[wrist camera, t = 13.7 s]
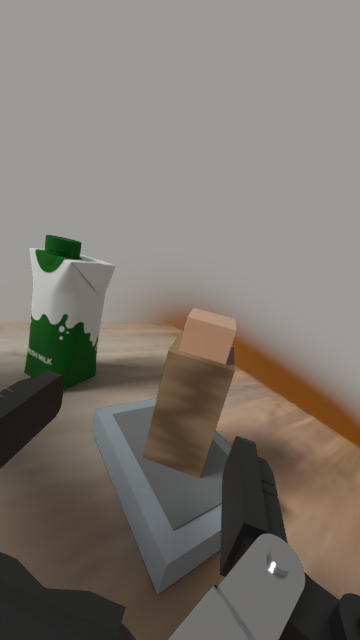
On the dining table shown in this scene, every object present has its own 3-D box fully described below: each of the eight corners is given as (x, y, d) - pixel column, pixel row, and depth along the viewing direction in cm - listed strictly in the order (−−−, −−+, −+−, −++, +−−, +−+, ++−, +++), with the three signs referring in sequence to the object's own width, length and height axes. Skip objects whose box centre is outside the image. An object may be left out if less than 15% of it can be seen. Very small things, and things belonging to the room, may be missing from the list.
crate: (142, 457, 23) (168, 351, 20) (158, 421, 29) (180, 332, 26) (199, 478, 23) (234, 371, 20) (205, 437, 28) (233, 347, 25)
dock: (91, 431, 29) (95, 407, 28) (176, 411, 36) (181, 392, 35) (157, 595, 17) (167, 563, 16) (265, 517, 24) (276, 492, 23)
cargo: (178, 350, 21) (187, 316, 20) (186, 336, 25) (194, 307, 24) (225, 364, 20) (236, 330, 20) (226, 348, 24) (235, 319, 23)
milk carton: (14, 372, 36) (22, 228, 31) (66, 355, 44) (80, 239, 39) (55, 399, 33) (73, 243, 27) (104, 375, 41) (125, 251, 35)
